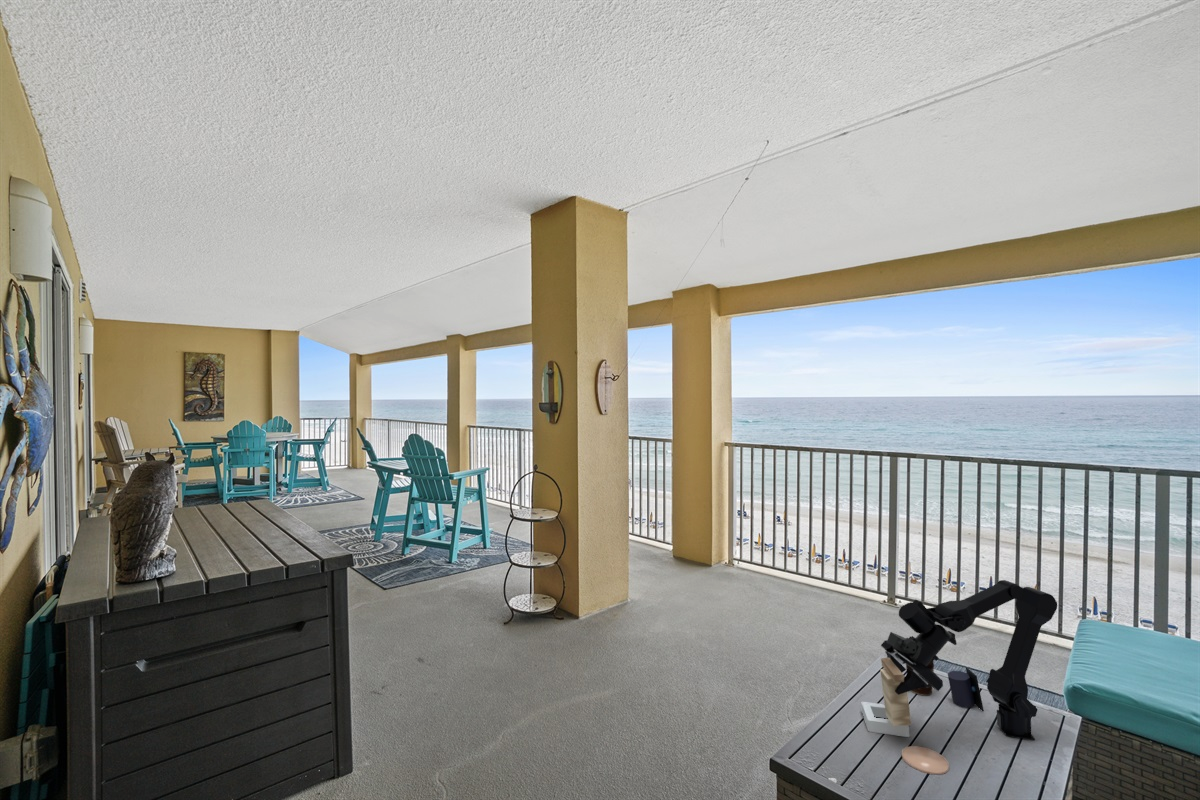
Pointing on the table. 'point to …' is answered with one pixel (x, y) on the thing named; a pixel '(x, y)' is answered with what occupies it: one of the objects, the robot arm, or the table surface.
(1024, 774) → the table surface
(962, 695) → the speaker
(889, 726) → the socket
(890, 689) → the wooden block tower
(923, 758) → the peach flat disc
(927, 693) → the coffee cup
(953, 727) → the table surface
